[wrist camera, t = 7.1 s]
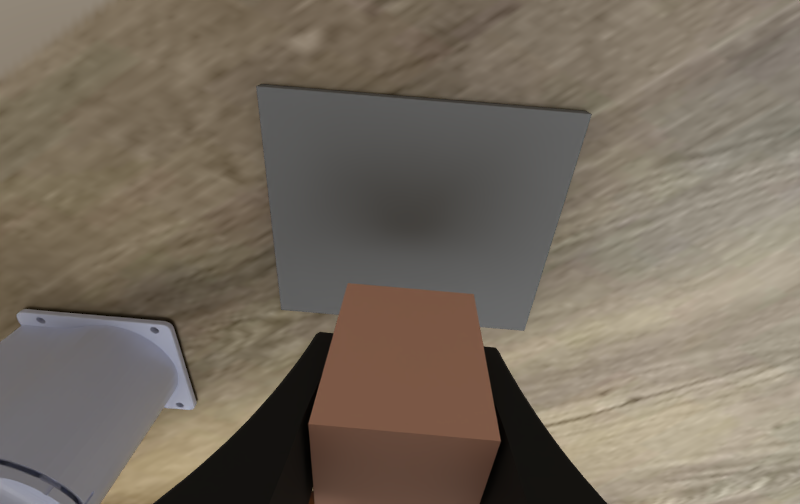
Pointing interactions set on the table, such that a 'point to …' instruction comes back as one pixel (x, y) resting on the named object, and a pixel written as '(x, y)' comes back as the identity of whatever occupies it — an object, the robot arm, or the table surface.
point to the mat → (414, 195)
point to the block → (403, 401)
